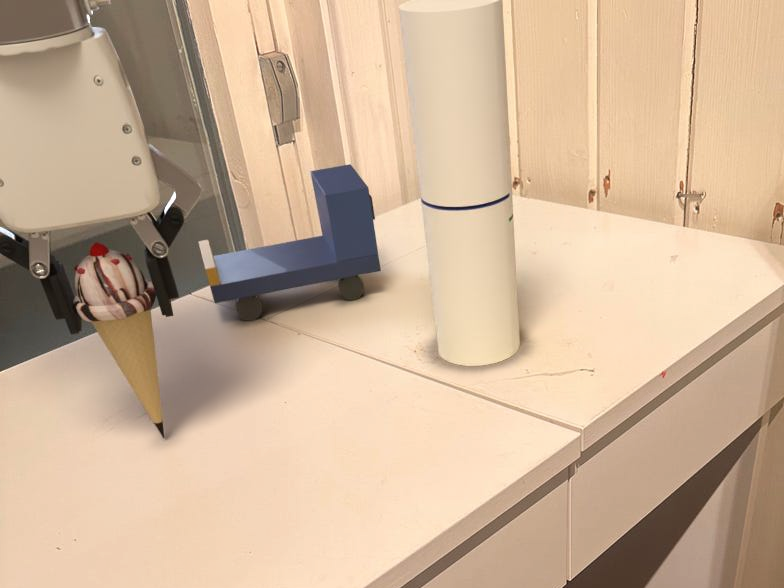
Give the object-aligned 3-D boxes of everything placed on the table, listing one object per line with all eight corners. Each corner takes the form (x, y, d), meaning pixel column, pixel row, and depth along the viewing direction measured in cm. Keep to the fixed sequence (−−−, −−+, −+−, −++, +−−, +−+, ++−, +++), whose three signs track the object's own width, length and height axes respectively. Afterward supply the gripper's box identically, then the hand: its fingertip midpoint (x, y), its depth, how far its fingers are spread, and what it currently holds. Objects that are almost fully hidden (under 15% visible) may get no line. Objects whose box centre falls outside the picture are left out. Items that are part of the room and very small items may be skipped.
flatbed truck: (221, 328, 87) (191, 218, 80) (214, 297, 92) (184, 192, 86) (387, 295, 89) (371, 186, 83) (369, 267, 95) (353, 163, 88)
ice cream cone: (214, 423, 73) (156, 229, 62) (175, 462, 69) (105, 261, 58) (154, 415, 74) (87, 224, 64) (112, 452, 70) (33, 256, 60)
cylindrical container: (421, 355, 79) (377, 10, 62) (469, 323, 83) (439, -9, 66) (489, 372, 76) (462, 13, 59) (535, 338, 80) (522, -8, 63)
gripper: (165, -15, 56) (237, 277, 69) (-132, 22, 53) (-1, 320, 66) (173, 4, 51) (249, 315, 64) (-156, 45, 48) (-9, 364, 61)
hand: (121, 315), depth 65 cm, fingers closed on ice cream cone, 5 cm apart
